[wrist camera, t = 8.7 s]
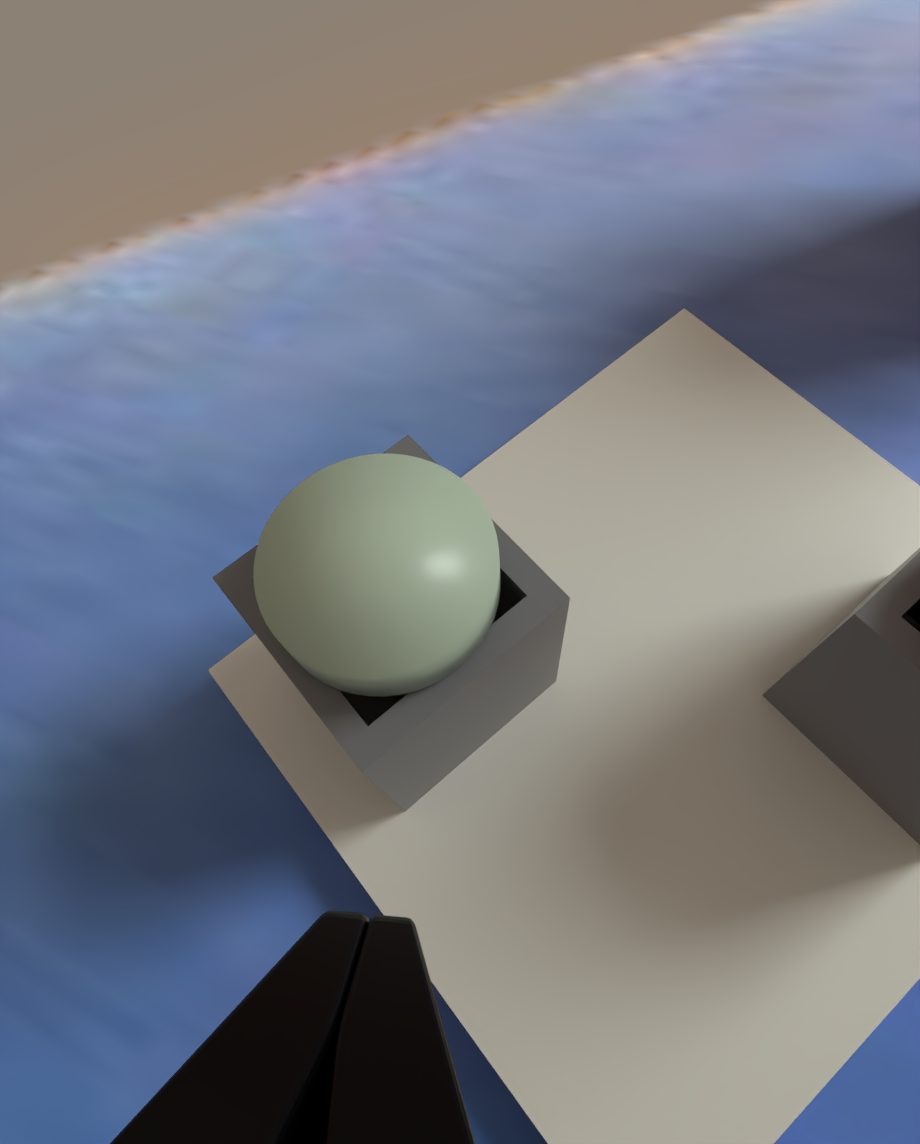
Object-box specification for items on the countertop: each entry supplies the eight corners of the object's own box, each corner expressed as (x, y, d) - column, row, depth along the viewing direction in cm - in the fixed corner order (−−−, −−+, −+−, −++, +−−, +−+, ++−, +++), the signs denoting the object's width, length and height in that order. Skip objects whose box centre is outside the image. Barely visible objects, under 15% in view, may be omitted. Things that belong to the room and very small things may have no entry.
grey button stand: (640, 1259, 16) (721, 1492, 10) (222, 681, 22) (100, 586, 16) (1145, 695, 20) (1441, 593, 14) (677, 332, 26) (730, 142, 20)
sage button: (404, 791, 19) (349, 733, 13) (301, 659, 21) (207, 549, 14) (540, 674, 20) (551, 568, 14) (431, 557, 22) (396, 413, 15)
